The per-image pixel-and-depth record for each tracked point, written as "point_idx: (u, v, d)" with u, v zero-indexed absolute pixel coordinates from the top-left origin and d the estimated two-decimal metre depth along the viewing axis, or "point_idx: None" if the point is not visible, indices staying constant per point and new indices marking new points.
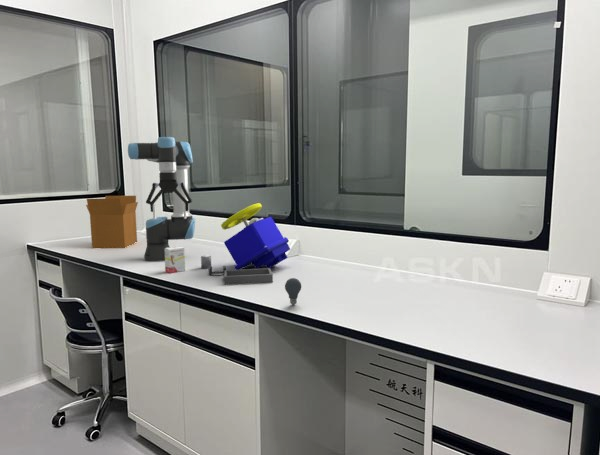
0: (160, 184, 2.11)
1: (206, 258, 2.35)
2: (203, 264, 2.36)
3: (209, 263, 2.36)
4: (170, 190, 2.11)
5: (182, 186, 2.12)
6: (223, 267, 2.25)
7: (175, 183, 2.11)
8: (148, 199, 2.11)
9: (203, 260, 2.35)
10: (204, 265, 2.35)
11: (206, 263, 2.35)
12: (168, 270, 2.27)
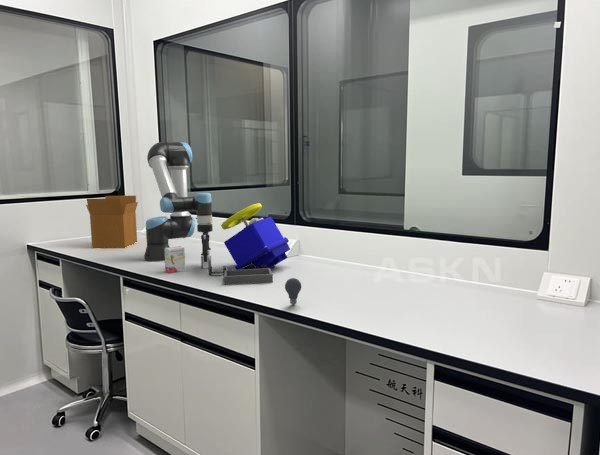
0: None
1: None
2: None
3: (209, 263, 2.36)
4: None
5: (202, 238, 2.30)
6: (223, 267, 2.25)
7: (202, 235, 2.32)
8: None
9: None
10: None
11: None
12: (168, 270, 2.27)
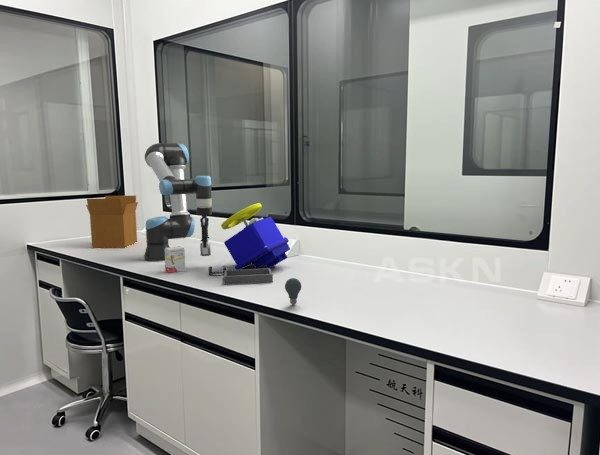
0: None
1: None
2: None
3: (208, 250, 2.36)
4: None
5: None
6: (223, 267, 2.25)
7: (201, 218, 2.31)
8: None
9: None
10: None
11: None
12: (168, 270, 2.27)
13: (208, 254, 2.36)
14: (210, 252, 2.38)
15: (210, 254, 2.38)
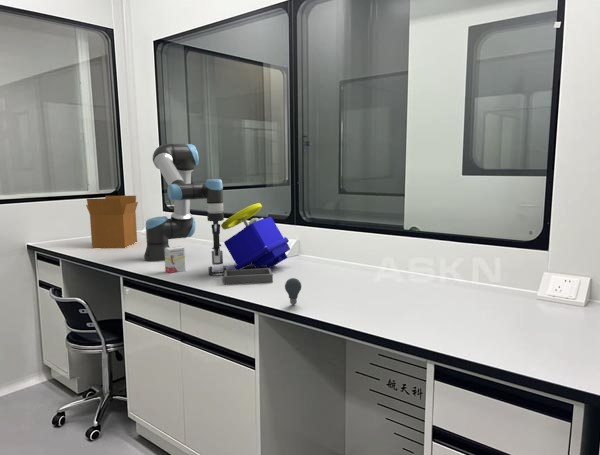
0: None
1: None
2: None
3: (220, 258, 2.20)
4: None
5: (213, 230, 2.15)
6: (223, 267, 2.25)
7: (213, 224, 2.16)
8: None
9: None
10: None
11: None
12: (168, 270, 2.27)
13: (220, 262, 2.21)
14: (222, 260, 2.22)
15: (222, 262, 2.22)
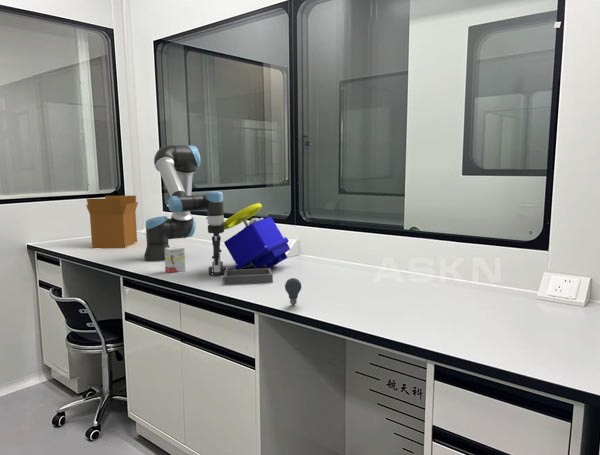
0: None
1: None
2: None
3: (221, 269, 2.21)
4: None
5: (213, 240, 2.15)
6: (223, 267, 2.25)
7: (213, 236, 2.17)
8: None
9: None
10: (216, 272, 2.20)
11: None
12: (168, 270, 2.27)
13: (221, 273, 2.21)
14: None
15: None
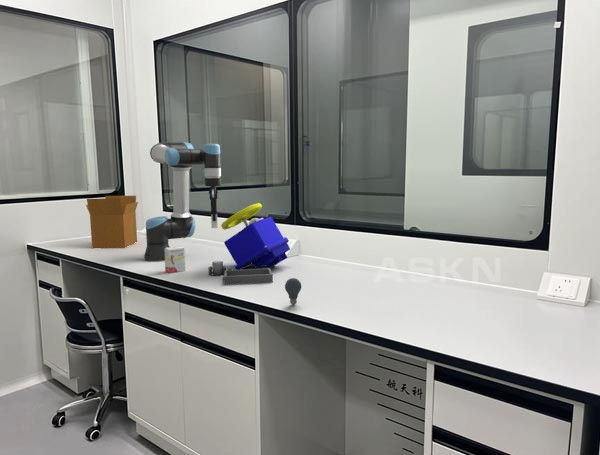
0: None
1: (218, 264, 2.20)
2: (214, 270, 2.21)
3: (221, 269, 2.21)
4: None
5: None
6: (223, 267, 2.25)
7: None
8: None
9: (214, 266, 2.20)
10: (216, 272, 2.20)
11: (218, 269, 2.20)
12: (168, 270, 2.27)
13: (221, 273, 2.21)
14: None
15: None
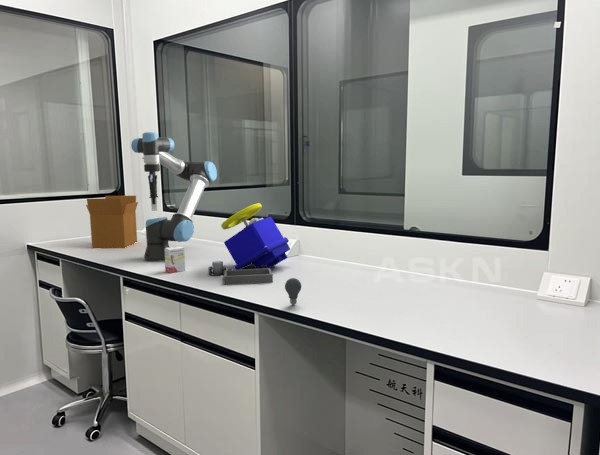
0: None
1: (218, 264, 2.20)
2: (214, 270, 2.21)
3: (221, 269, 2.21)
4: None
5: (149, 181, 2.31)
6: (223, 267, 2.25)
7: (149, 175, 2.32)
8: None
9: (214, 266, 2.20)
10: (216, 272, 2.20)
11: (218, 269, 2.20)
12: (168, 270, 2.27)
13: (221, 273, 2.21)
14: None
15: None
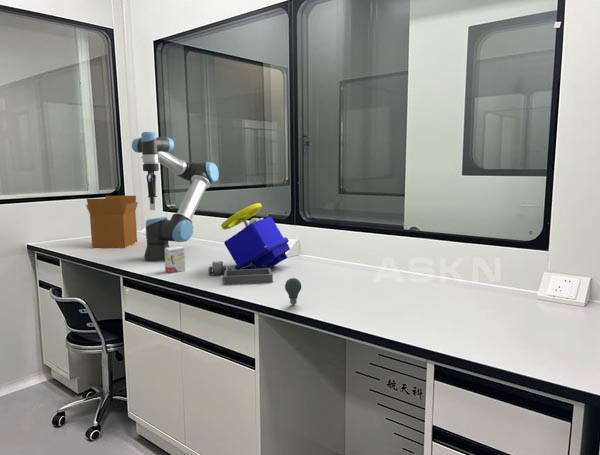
0: None
1: (218, 264, 2.20)
2: (214, 270, 2.21)
3: (221, 269, 2.21)
4: None
5: None
6: (223, 267, 2.25)
7: None
8: None
9: (214, 266, 2.20)
10: (216, 272, 2.20)
11: (218, 269, 2.20)
12: (168, 270, 2.27)
13: (221, 273, 2.21)
14: None
15: None
